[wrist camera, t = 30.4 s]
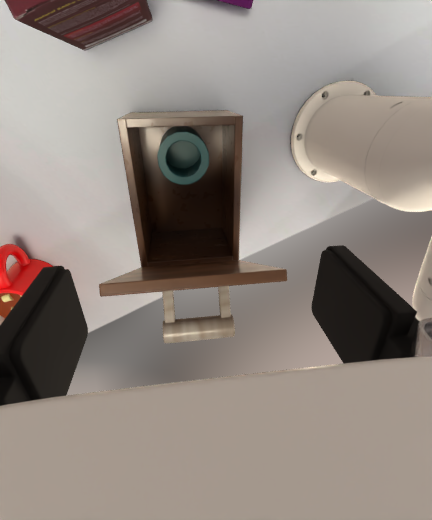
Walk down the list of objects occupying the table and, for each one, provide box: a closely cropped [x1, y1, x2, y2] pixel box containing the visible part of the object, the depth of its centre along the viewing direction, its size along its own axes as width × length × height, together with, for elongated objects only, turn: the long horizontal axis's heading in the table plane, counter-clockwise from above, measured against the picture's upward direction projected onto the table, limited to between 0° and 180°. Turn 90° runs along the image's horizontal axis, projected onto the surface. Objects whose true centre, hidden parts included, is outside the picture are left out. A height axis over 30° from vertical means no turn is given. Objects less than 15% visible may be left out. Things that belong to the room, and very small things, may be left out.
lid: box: [99, 260, 287, 343], centre depth 28 cm, size 17×12×5 cm
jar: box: [157, 126, 209, 185], centre depth 35 cm, size 6×6×7 cm
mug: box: [0, 244, 53, 325], centre depth 42 cm, size 8×12×8 cm, turn 6°
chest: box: [117, 110, 243, 267], centre depth 37 cm, size 17×12×10 cm
